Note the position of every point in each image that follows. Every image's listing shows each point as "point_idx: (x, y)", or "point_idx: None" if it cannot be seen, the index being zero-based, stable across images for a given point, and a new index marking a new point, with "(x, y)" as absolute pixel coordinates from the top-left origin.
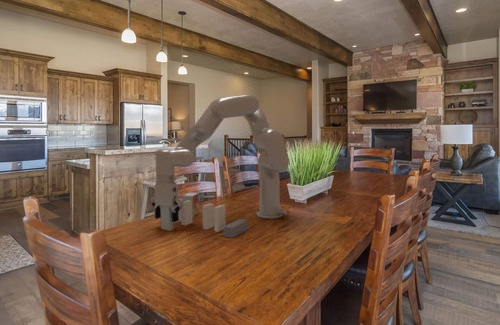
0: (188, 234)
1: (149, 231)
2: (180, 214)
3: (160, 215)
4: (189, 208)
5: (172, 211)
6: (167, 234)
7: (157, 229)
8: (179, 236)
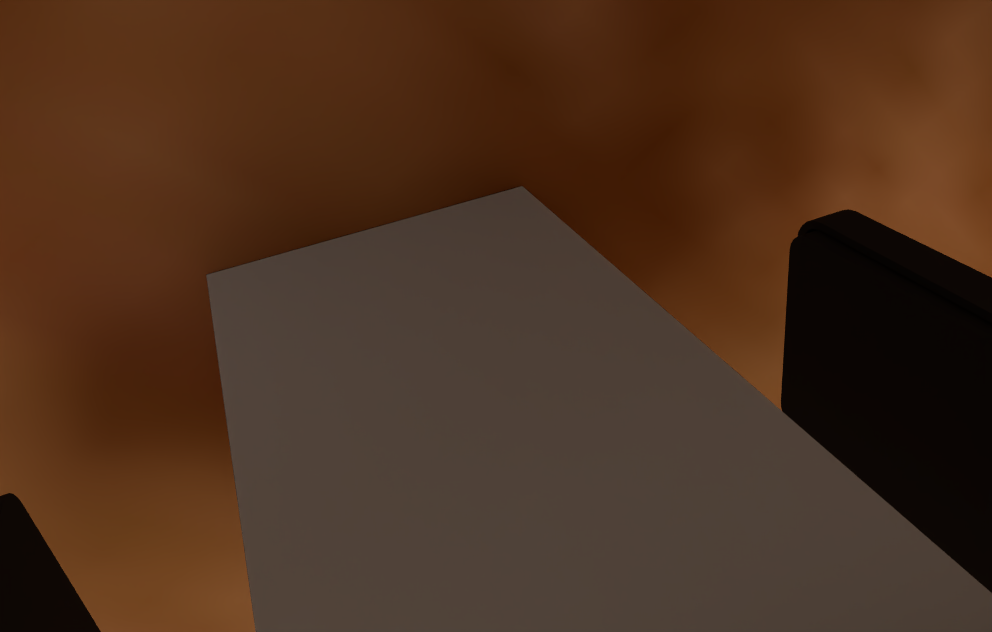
0: (988, 142)
1: (234, 618)
2: None
3: (28, 596)
4: None
5: (872, 510)
6: None
7: (223, 461)
8: None
